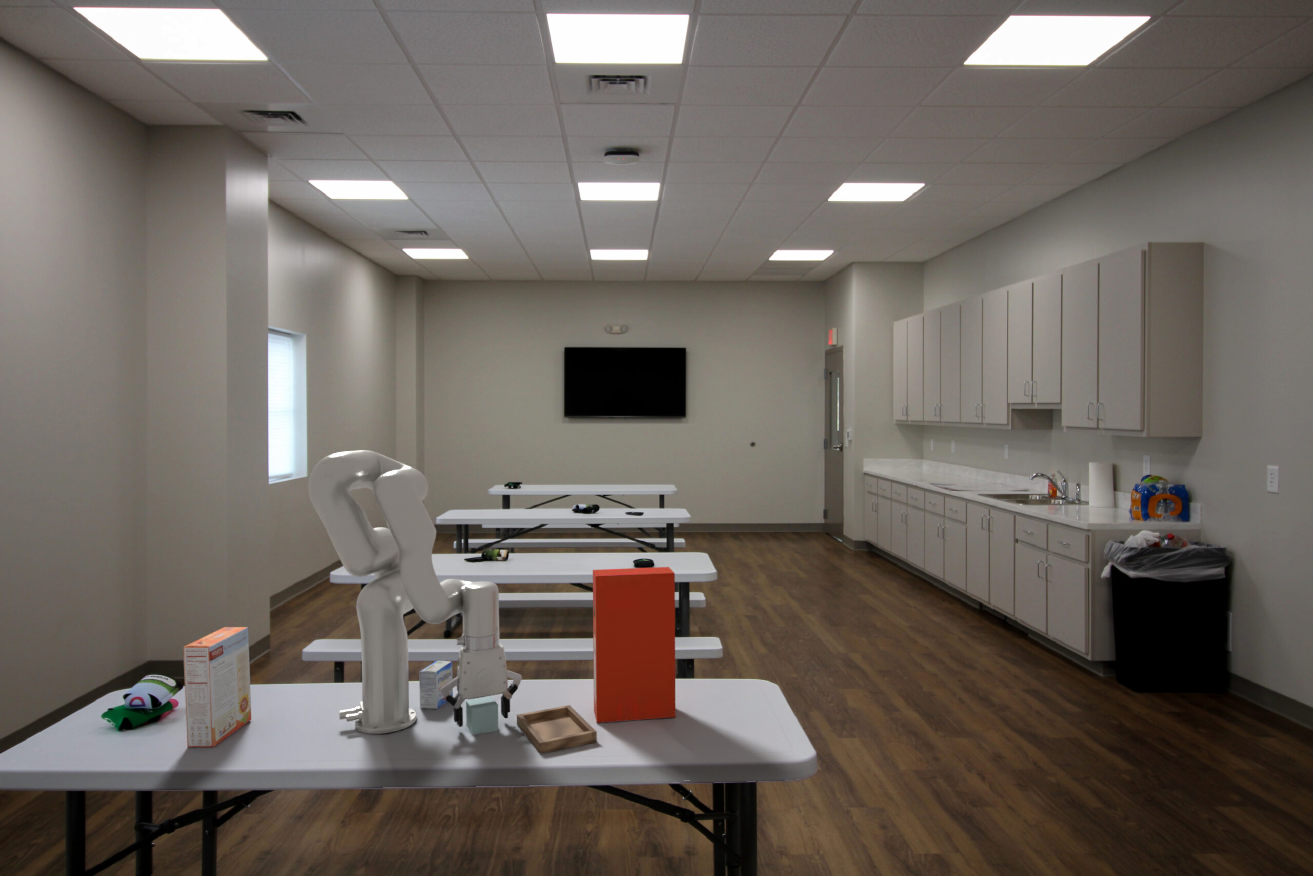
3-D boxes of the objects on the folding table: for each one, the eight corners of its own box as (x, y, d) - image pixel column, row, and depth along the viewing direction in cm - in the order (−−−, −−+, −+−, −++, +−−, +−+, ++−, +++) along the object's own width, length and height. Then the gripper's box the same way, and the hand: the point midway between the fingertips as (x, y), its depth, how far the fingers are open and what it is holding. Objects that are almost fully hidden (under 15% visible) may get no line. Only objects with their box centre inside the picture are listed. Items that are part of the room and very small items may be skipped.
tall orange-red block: (593, 709, 174) (592, 569, 173) (668, 704, 176) (668, 566, 175) (596, 724, 166) (595, 576, 165) (675, 718, 169) (674, 573, 167)
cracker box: (225, 720, 168) (223, 625, 168) (252, 720, 168) (250, 626, 168) (184, 748, 154) (181, 645, 154) (213, 748, 154) (211, 645, 154)
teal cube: (472, 735, 160) (472, 709, 160) (466, 725, 165) (466, 700, 165) (498, 730, 163) (498, 704, 163) (491, 721, 168) (491, 696, 167)
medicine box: (437, 710, 174) (436, 672, 174) (419, 708, 175) (418, 670, 175) (453, 697, 182) (452, 661, 181) (435, 696, 183) (435, 659, 182)
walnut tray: (539, 754, 151) (539, 743, 151) (516, 724, 165) (516, 714, 165) (596, 742, 156) (596, 731, 156) (569, 714, 171) (569, 705, 171)
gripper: (443, 651, 156) (444, 734, 157) (525, 640, 164) (526, 719, 164) (436, 642, 163) (437, 721, 163) (516, 631, 171) (516, 707, 171)
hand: (482, 720), depth 164 cm, fingers open, 9 cm apart
